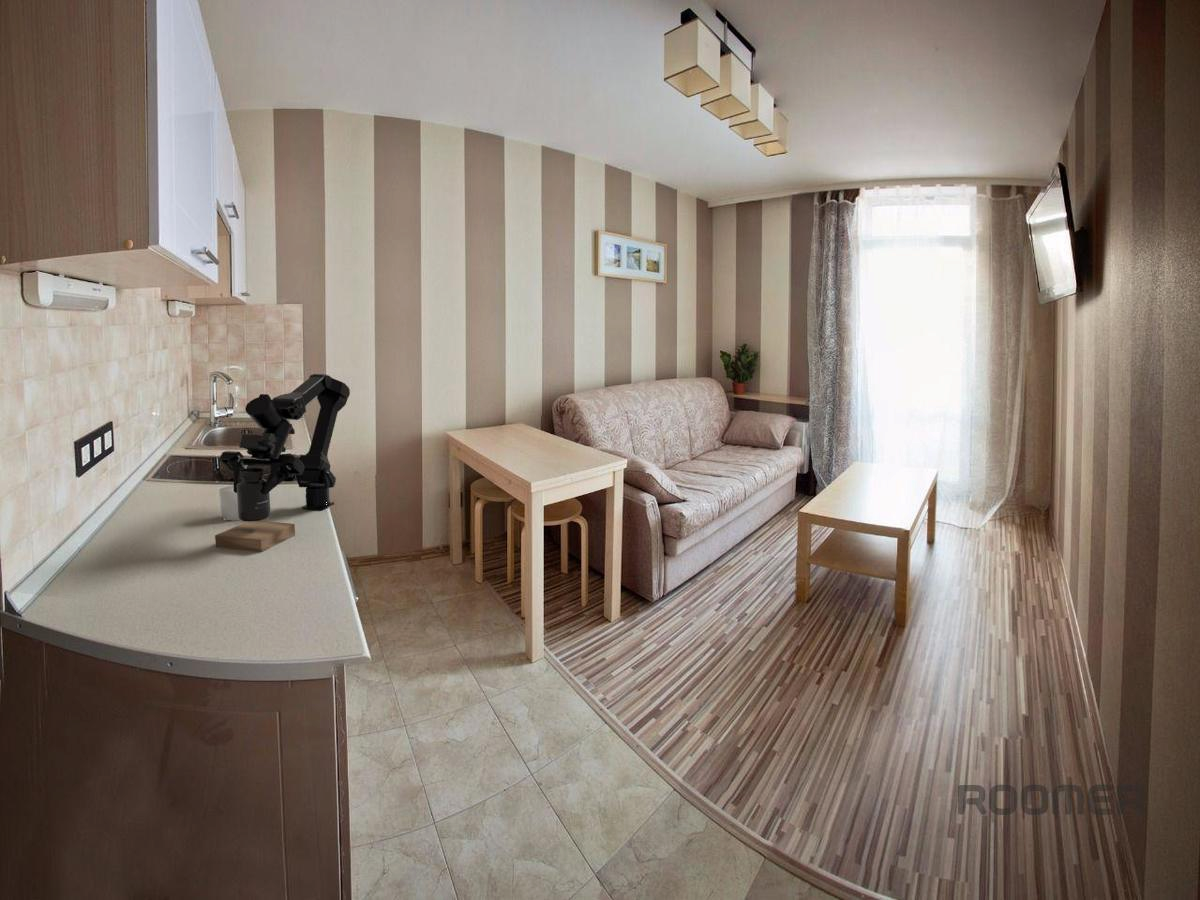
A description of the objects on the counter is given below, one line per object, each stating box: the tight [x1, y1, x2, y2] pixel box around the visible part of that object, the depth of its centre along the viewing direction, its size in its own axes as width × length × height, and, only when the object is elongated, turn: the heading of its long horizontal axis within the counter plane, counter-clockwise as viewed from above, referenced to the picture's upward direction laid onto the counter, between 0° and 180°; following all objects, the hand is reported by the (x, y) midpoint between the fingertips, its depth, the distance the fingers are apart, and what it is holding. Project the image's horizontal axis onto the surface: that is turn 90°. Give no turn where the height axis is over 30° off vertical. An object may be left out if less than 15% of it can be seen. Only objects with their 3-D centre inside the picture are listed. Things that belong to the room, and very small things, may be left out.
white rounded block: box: [219, 485, 241, 521], centre depth 162 cm, size 7×7×8 cm
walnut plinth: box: [214, 520, 296, 553], centre depth 145 cm, size 12×12×3 cm
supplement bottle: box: [237, 467, 271, 522], centre depth 143 cm, size 7×7×12 cm
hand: (249, 492), depth 142 cm, fingers closed on supplement bottle, 7 cm apart
